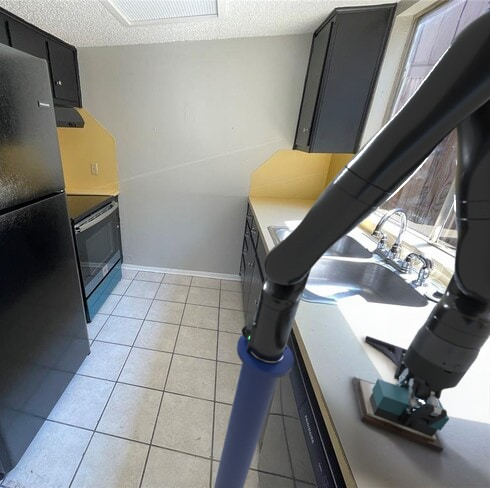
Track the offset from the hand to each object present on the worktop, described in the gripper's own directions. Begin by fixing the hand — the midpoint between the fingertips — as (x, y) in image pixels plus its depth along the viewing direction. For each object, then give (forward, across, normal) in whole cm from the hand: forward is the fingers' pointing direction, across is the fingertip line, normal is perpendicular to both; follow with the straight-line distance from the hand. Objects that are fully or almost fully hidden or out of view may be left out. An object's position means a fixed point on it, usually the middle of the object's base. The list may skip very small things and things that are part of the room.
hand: (400, 413), depth 53 cm
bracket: (+3, -18, +6) cm, 19 cm away
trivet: (+3, -2, 0) cm, 4 cm away
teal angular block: (+1, 0, 0) cm, 1 cm away
